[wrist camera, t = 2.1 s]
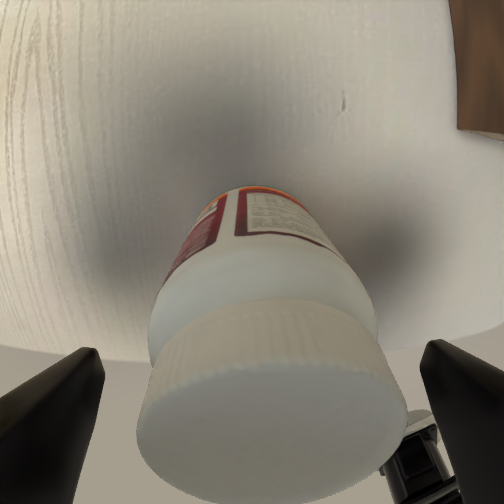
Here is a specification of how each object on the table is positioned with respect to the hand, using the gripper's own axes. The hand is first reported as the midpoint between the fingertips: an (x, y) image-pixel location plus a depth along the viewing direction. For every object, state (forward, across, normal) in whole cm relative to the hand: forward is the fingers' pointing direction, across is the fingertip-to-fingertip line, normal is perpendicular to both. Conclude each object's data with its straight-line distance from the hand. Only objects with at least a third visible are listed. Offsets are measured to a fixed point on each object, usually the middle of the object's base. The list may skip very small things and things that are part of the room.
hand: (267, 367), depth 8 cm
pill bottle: (+9, 0, 0) cm, 9 cm away
